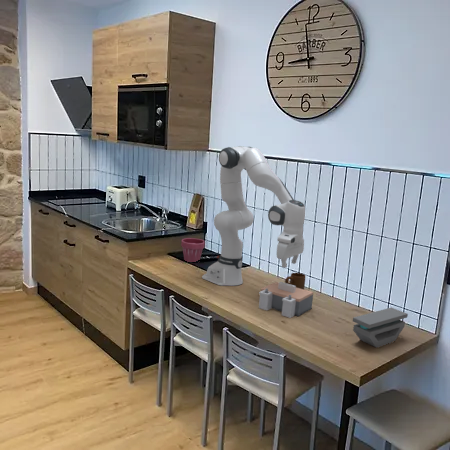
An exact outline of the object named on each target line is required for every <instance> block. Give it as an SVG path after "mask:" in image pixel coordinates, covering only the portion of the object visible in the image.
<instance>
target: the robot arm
mask: <svg viewBox="0 0 450 450" xmlns="http://www.w3.org/2000/svg"><path fill="white" fill-rule="evenodd" d="M218 161H219V164H220V173H219V174H220V175H219V179H220V180H219V183H220V184H219V185H220V194H221V196H220V197H221V199H222V201H223V202H225V204H226V206H227V208H228V210H223V211H220V212H219V213H217V214H216V215H215V216H214V217H213V218H214V219H213V224H214V228H215V229H216V230H217V231H218V232H219V235H220V239H221V251H220V254H218V255H217V256H216V259H217V261H215V262H214V263H212V264H211V265H209V266H208V268H207V270H206V273H204V274H203V275H202V276H201V278H202V279H203V280H205V281H208V282H209V283H210V282H211V283H213V284H215V285H218V286H232V287H233V286H240V285H242V284H243V283H244V281H243V276H242V275H243V274H242V266H243V249H244V248H243V247H244V246H243V245H244V244H243V243H244V242H243V241H242V240H241V238H240V237H239V231H241V230H245V229H247V228H249V227H250V226H252V225H253V223H254V214H253V212H252V211H250V209H249V208H248V207H247V205H246V202H245V198H244V194H243V192H244V191H243V183H242V172H243V170H245V171H246V173H247V175H248V178H249V180H250V181H251V182H252V183H253V185H255V186H256V187H259V188H261V189H265V190H268V191H270V192H271V193H273V194H274V195H275V197H277V199H278V202H279V203H280V204H274V205H272V206H270V207H269V210H268V212H267V216H268V217H267V218H268V220H269V223H270V224H271V225H274V226H282V227H283V231H282V232H281V233H280V235H278V236H277V246H276V258H277V259H279V260H280V261H281V267H282V268H283V269H285V268H287V267H288V263H287V260H288V259H290V258H292V259H291V264H293V265H295V264H297V260H298V259H299V255H300V254H302V253H303V252H304V249H305V247H304V246H305V239H304V237H303V233H304V228H303V227H304V224H305V218H306V207H305V204H304V202H302V201H300V200H297V199H294V198H293V196H292V195H291V193H290V192H289V190H288V188H287V186H286V185H285V184H284V182H283V181H282V179H280V178H279V176H277V174H276V173H275V172H274V171H273V169H272V168H271V166H270V165H269V162H268V161H267V159H266V157H265V155H264V154H263V153H262V151H261V150H260V149H259V148H257V147H252V146H241V145H239V146H238V145H237V146H231V147H230V146H228V147H224V148H222V149H221V150H220V152H219V153H218Z"/></svg>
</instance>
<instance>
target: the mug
mask: <svg viewBox="0 0 450 450" xmlns="http://www.w3.org/2000/svg"><path fill="white" fill-rule="evenodd" d="M284 283H287V284H291V285H294V286H296V288H300V289H304V290H305V286H306V285H305V284H306V274H304V273H302V272H292V273H290V275H289V276H286V277H285V279H284Z"/></svg>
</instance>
